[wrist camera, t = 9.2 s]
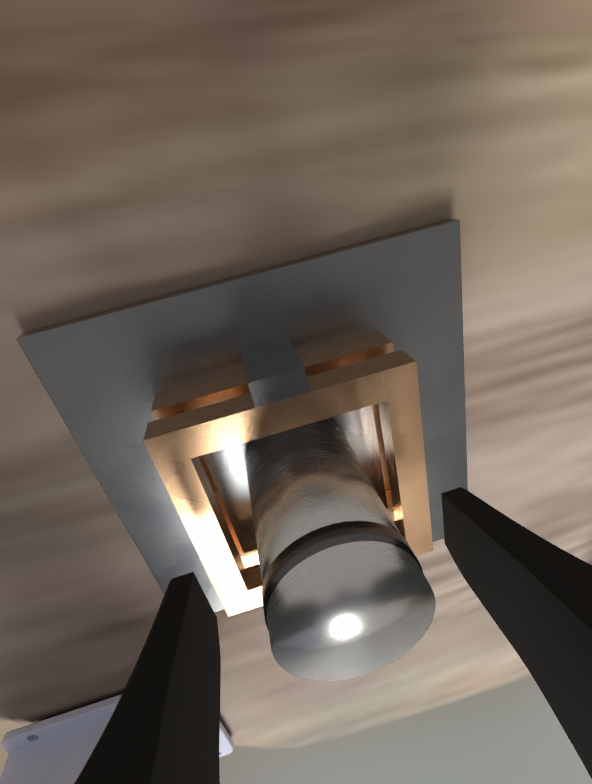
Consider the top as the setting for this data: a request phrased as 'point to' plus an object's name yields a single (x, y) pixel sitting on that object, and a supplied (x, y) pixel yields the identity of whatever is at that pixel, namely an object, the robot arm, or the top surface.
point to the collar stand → (268, 396)
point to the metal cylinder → (331, 558)
